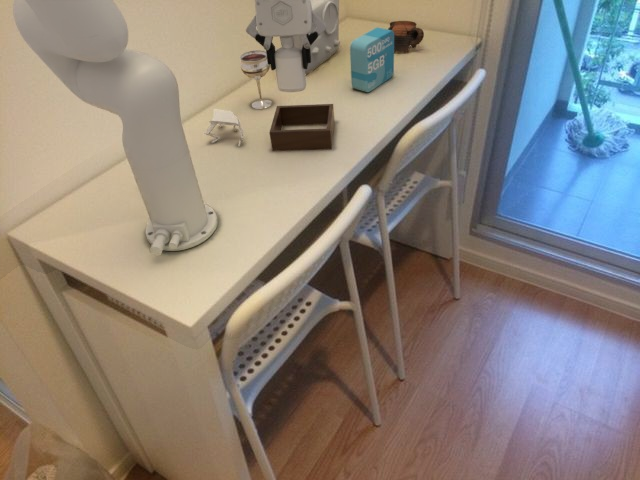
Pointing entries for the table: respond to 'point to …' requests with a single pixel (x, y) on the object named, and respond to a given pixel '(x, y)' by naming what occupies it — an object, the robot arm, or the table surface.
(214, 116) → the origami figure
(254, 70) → the wineglass
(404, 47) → the pottery mug
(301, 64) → the eye dropper bottle
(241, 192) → the table surface
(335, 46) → the radio
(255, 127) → the table surface
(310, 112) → the square wooden box frame
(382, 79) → the data package
